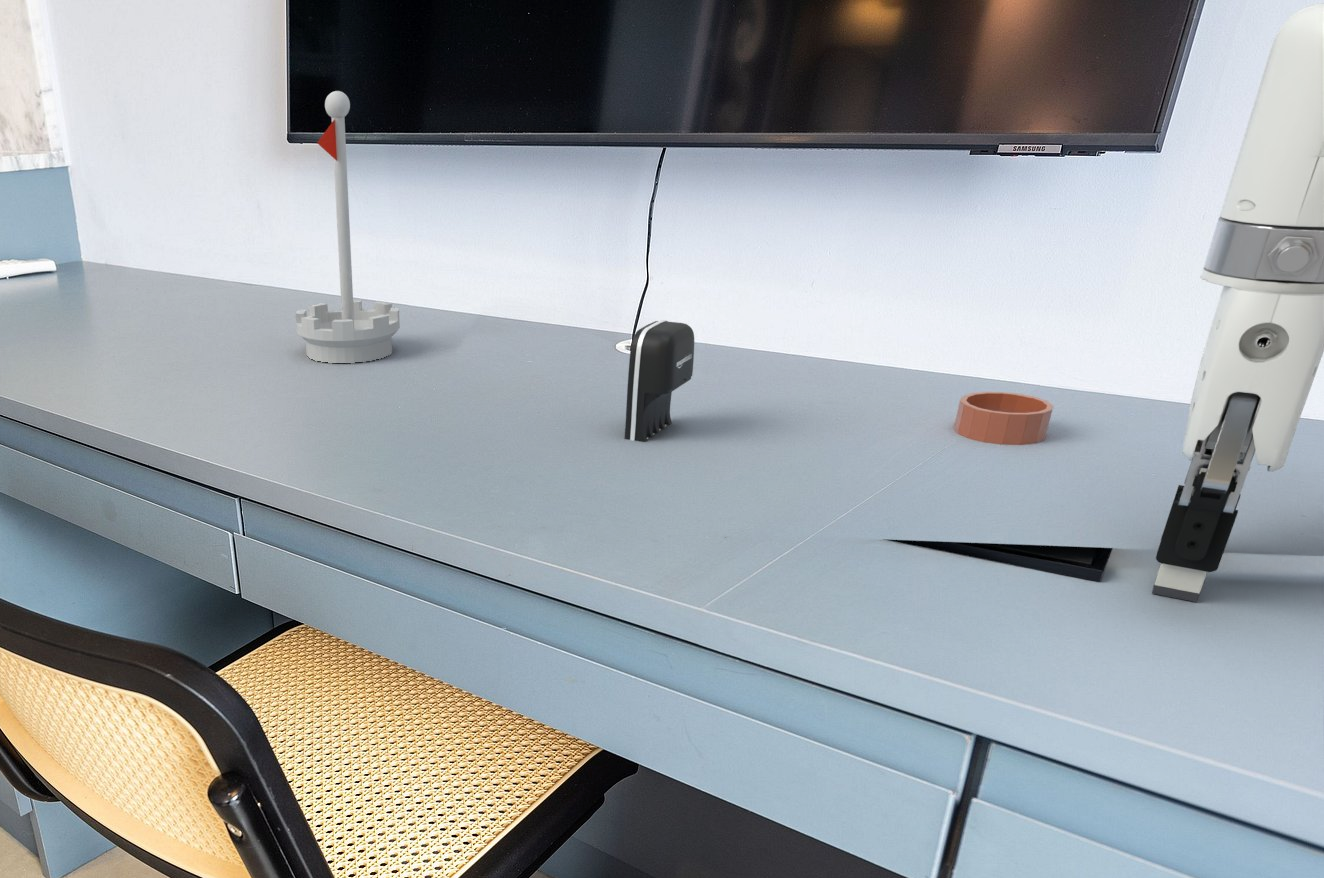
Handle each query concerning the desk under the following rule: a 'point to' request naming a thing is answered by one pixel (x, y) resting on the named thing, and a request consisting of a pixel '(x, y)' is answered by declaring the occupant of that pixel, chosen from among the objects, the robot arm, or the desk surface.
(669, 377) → the battery charger
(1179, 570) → the grey piece
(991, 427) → the bangle ring
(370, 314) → the flag stand
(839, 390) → the desk surface
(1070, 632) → the desk surface
